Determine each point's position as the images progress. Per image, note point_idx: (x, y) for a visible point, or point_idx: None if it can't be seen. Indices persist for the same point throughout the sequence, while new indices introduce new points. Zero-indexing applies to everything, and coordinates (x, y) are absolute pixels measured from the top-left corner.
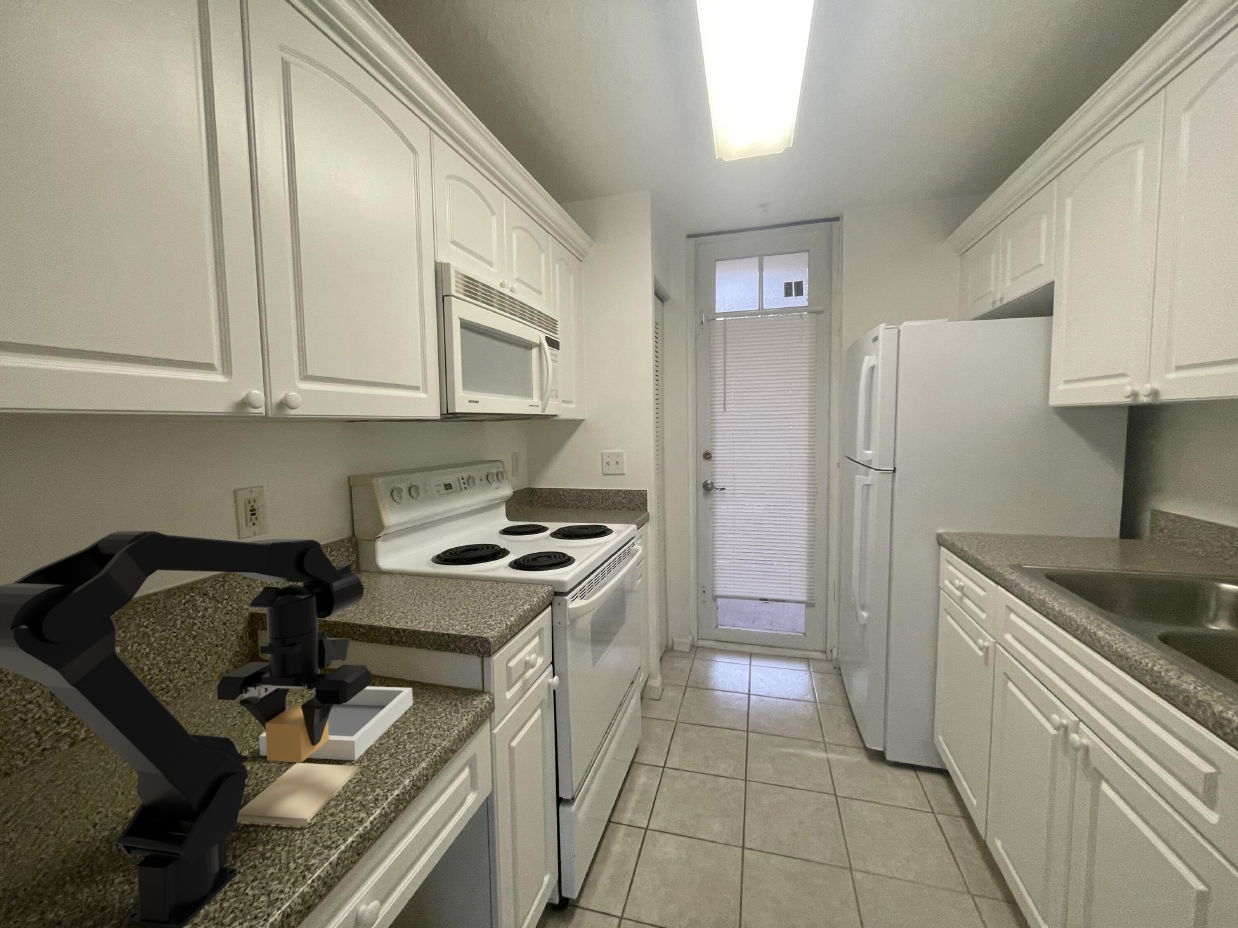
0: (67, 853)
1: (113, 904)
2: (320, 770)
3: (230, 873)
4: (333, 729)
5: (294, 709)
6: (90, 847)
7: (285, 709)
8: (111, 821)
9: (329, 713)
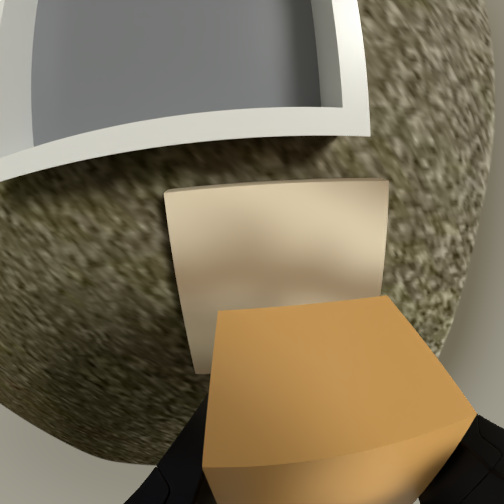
0: (31, 403)
1: None
2: (280, 214)
3: None
4: (131, 7)
5: (279, 499)
6: (40, 398)
7: (201, 493)
8: (3, 359)
9: (488, 422)
